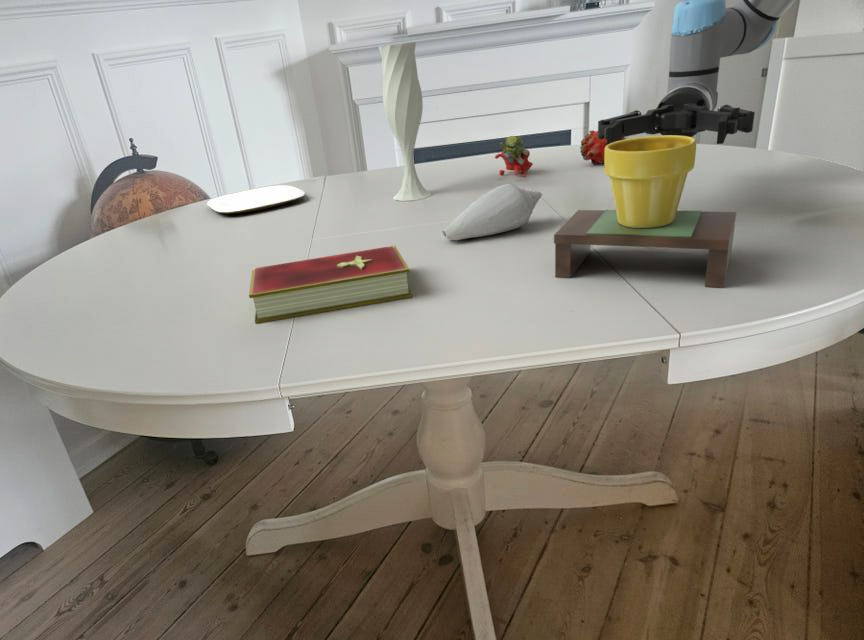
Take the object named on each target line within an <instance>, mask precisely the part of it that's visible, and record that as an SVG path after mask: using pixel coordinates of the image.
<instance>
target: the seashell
mask: <svg viewBox="0 0 864 640" xmlns="http://www.w3.org/2000/svg"><path fill="white" fill-rule="evenodd" d="M542 196H543V193H542V192H541V191H537V190H530V189H525V188H521V187H519V186H516V185H514V184H511V183H505V184H502V185H498V186H497V187H495V188H493V189H491V190H490V191H488V192H486V193H484V194H483V195H481V196H480V197H478V198H477V199H476V200H475V201H473V202H471V203H470V204H469V205H468V206H467V207H466V208H465V209H463V211H461V212H460V213H459V214H458V215H457V216H456V217H454V219H453V220H452V221H451V222H450V223H449V224H447V226H446V227H445V228H444V229H443V230H441V233H442V234H443V236H444V237H445V239H447V240H452V241H461V240H465V239H471V238H481V237H488V236H493V235H498V234H500V233H501V234H502V233H504V232H505V233H506V232H509V231H512V230H515V229H518V228H521V227H522V226H524V225H526V224H527V223H528V222H529V220H530V219H531V215H532V214H533V211H534V209H535V208H536V206H537V204H538V202H539V200H540V199H541V198H542Z"/></svg>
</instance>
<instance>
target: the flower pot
mask: <svg viewBox="0 0 864 640" xmlns="http://www.w3.org/2000/svg"><path fill="white" fill-rule="evenodd" d="M696 153H697V140H696V139H695V138H694V137H693V136H692V137H688V136H677V135H661V134H660V135H648V136H647V135H646V136H641V137H640V136H639V137H632V138H626V139H625V140H620V141H616V142H613V143H610V144H608V145H607V146H606V147H605V156H604V163H603V165H604V174H605V175H606V176H607V177H608V178H609V180H610V186H611V191H612V196H613V201H614V205H615V210H616V212H617V218H618V222H619V224H621V225H623V226H626V227H631V228H655V227H661V226H665V225H668V224H670V223H672V222H673V221H674V219H675V216H676V212H677V211H678V208H679V204H680V201H681V198H682V194H683V191H684V187H685V184H686V181H687V177H688V174H689V172H691V171H692V170H693V169H695V162H696Z"/></svg>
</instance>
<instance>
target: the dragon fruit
mask: <svg viewBox="0 0 864 640" xmlns="http://www.w3.org/2000/svg"><path fill="white" fill-rule="evenodd" d="M625 139H627V138H626V137H622V140H625ZM606 146H607V139H598V130H596V131H595V130H589V131H588V133H587V134H586V135H585V136H584V138H583V139H582V140H581V141H580V147H579V149H580V151H579V152H580V153H581V157H582V159H583V160H584V161H590V162H591V164H592V165H594V166H595V165H597V164H598V163H600V164H604V156H605V147H606Z"/></svg>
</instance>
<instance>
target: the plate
mask: <svg viewBox="0 0 864 640" xmlns="http://www.w3.org/2000/svg"><path fill="white" fill-rule="evenodd" d="M305 195H306V192H305V191H304V190H302V189H300V188H298V187H295V186H292V185H287V184H279V185H278V184H277V185H270V186H264V187H257V188H254V189H247V190H242V191H239V192H233V193H229V194H224V195H220V196H218V197H215V198H211V199H210V200H208V201H207V202H206V204H207V206H208V207H209V208H210V209H211V210H212V211H214V212H216V213H219V214H246V213H253V212H258V211H263V210H268V209H272V208H276V207H279V206H283V205H286V204H288V203H291V202H293V201H296V200H299V199H301V198H303V197H304V196H305Z"/></svg>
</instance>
